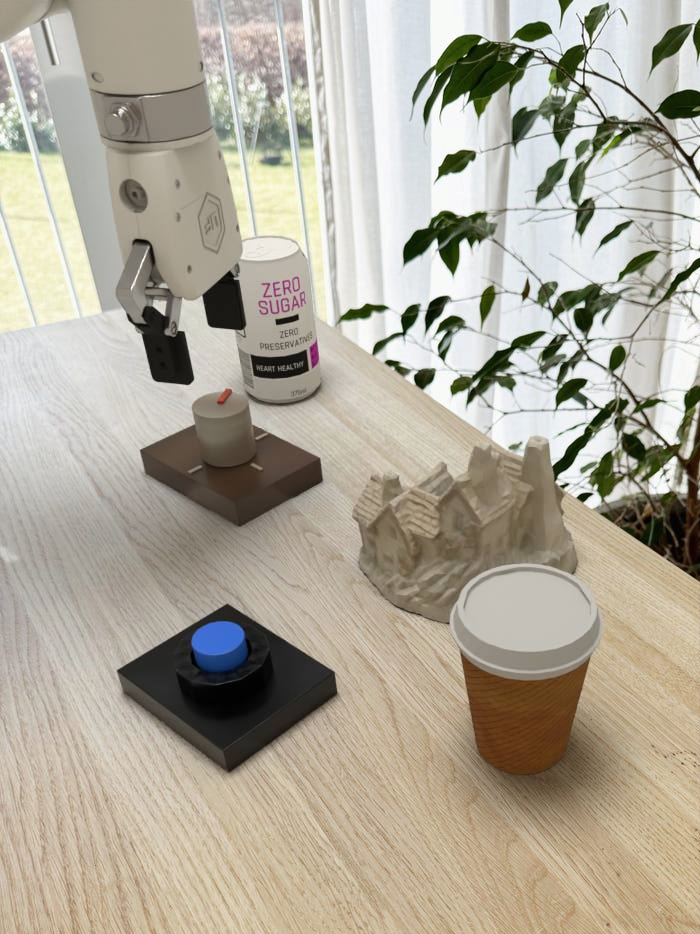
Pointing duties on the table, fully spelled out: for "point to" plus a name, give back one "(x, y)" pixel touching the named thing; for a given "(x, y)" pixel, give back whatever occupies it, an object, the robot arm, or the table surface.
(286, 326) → the white soda can
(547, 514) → the ceramic cottage
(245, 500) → the panel
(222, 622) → the light button
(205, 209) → the robot arm
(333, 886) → the table surface
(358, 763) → the table surface
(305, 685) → the switch block
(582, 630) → the disposable coffee cup
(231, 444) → the dimmer knob
